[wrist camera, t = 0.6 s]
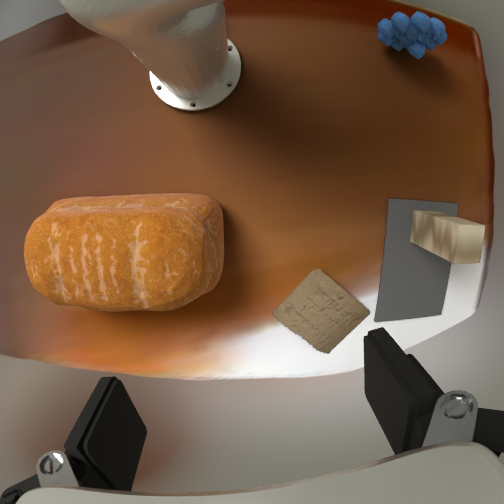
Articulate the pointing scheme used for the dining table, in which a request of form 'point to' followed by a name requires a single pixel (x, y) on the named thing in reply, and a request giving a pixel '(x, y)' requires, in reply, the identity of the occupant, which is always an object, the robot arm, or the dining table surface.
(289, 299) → the clay tablet
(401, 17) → the grapes
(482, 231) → the birch block
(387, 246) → the rubber mat
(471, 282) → the dining table surface
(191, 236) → the bread
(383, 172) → the dining table surface
